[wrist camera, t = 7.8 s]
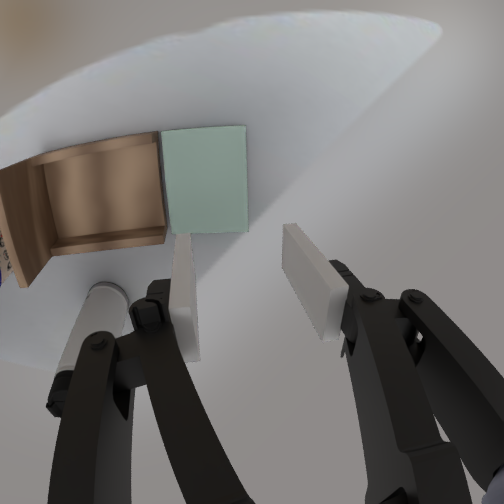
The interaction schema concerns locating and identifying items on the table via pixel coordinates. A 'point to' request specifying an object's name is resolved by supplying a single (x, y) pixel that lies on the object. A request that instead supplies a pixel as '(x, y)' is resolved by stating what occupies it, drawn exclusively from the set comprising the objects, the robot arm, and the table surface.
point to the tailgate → (206, 179)
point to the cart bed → (82, 201)
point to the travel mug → (89, 321)
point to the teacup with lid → (4, 261)
